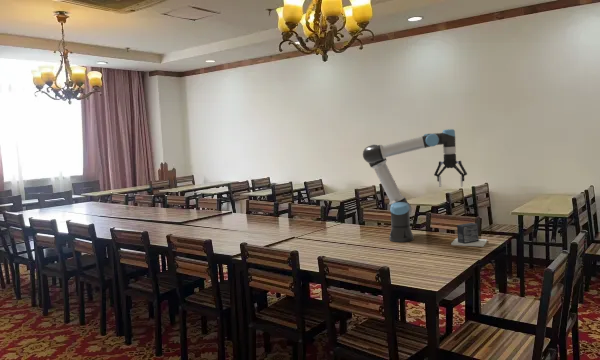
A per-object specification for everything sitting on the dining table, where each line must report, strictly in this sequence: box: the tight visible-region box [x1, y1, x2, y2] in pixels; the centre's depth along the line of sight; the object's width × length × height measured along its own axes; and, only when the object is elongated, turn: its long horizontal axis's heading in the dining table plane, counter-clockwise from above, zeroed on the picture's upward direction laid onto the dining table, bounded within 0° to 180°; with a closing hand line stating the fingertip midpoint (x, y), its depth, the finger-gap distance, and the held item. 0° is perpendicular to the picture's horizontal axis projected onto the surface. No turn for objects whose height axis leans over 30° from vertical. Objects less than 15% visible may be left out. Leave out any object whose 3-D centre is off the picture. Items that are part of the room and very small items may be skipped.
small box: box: [456, 222, 480, 244], centre depth 282 cm, size 11×6×10 cm, turn 107°
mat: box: [450, 237, 488, 248], centre depth 283 cm, size 18×14×1 cm
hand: (450, 186), depth 305 cm, fingers open, 13 cm apart
